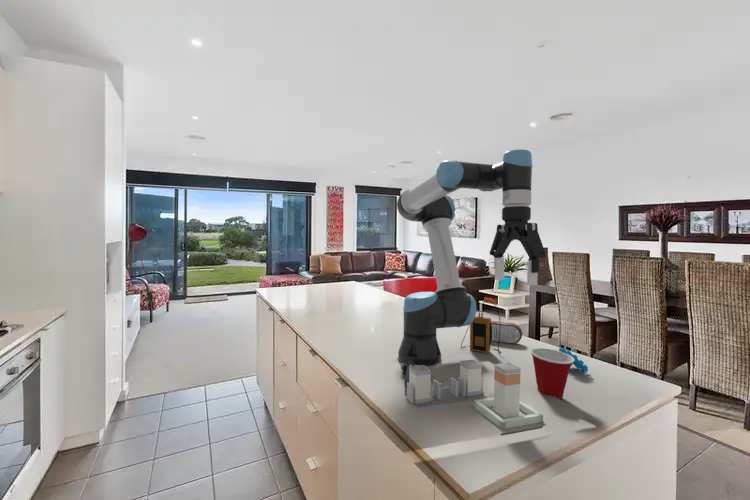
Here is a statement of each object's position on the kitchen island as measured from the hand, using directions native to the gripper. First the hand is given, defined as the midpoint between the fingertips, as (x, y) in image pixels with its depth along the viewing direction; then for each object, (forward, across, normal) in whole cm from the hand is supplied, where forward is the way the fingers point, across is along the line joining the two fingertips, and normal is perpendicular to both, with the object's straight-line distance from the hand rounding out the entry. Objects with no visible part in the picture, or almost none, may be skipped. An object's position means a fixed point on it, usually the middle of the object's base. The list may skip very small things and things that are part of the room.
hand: (514, 282), depth 102 cm
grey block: (+29, +1, -30) cm, 42 cm away
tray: (+31, +14, -13) cm, 36 cm away
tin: (+31, -41, +28) cm, 59 cm away
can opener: (+31, -11, -27) cm, 43 cm away
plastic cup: (+31, +7, +7) cm, 32 cm away
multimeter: (+31, -36, +15) cm, 50 cm away
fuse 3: (+30, +14, -13) cm, 36 cm away
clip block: (+31, +1, -22) cm, 38 cm away
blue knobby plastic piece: (+31, -8, +30) cm, 43 cm away
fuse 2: (+29, +1, -14) cm, 33 cm away
